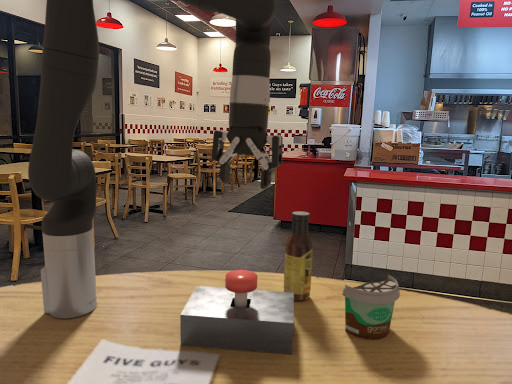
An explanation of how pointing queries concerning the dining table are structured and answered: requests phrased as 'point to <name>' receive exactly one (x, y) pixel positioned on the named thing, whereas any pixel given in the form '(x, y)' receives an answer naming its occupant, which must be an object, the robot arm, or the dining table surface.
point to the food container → (370, 308)
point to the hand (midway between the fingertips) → (244, 185)
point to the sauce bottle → (298, 258)
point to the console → (238, 320)
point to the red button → (241, 285)
